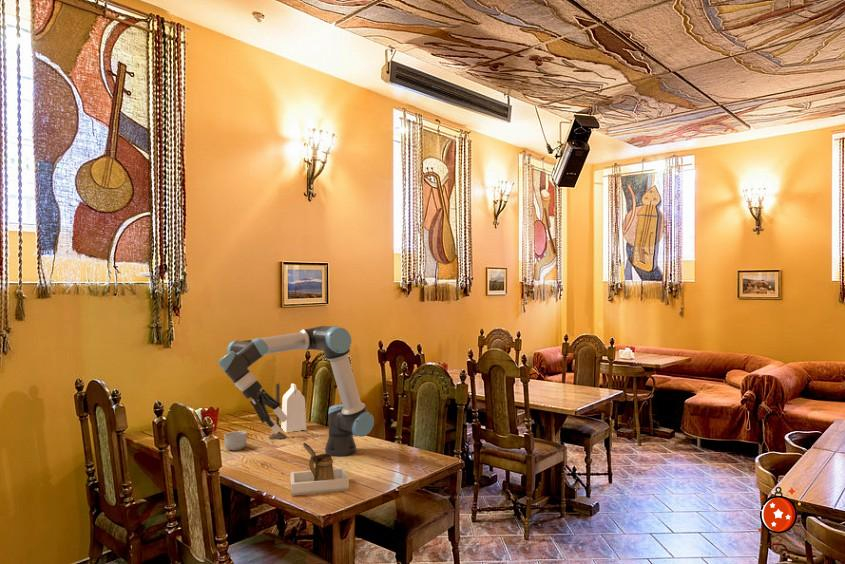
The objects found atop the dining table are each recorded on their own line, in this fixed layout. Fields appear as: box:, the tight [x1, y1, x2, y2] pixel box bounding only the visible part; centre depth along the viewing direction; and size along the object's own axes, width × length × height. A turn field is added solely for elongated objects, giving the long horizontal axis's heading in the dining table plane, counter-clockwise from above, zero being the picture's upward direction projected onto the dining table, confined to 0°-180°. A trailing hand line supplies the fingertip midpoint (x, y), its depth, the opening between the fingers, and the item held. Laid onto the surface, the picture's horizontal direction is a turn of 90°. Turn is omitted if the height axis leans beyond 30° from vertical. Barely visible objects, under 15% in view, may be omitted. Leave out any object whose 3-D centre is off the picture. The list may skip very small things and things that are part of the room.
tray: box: [289, 467, 350, 497], centre depth 223 cm, size 22×15×4 cm
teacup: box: [223, 430, 247, 452], centre depth 282 cm, size 14×11×8 cm
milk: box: [280, 383, 307, 433], centre depth 321 cm, size 12×12×26 cm
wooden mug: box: [302, 442, 335, 481], centre depth 223 cm, size 9×14×18 cm, turn 129°
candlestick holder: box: [268, 382, 287, 440], centre depth 303 cm, size 9×9×30 cm
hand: (282, 426), depth 226 cm, fingers open, 13 cm apart
